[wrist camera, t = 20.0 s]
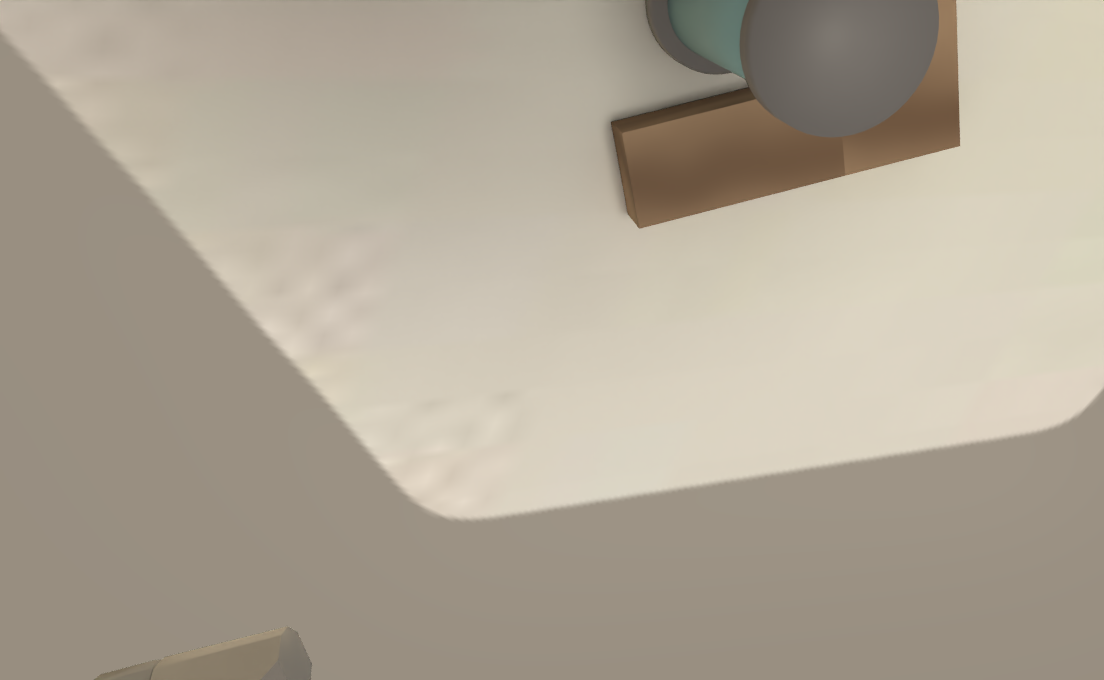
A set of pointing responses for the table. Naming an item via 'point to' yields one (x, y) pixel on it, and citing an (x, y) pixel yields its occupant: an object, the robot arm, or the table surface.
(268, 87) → the table surface
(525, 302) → the table surface
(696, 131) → the notched board
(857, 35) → the bobbin
